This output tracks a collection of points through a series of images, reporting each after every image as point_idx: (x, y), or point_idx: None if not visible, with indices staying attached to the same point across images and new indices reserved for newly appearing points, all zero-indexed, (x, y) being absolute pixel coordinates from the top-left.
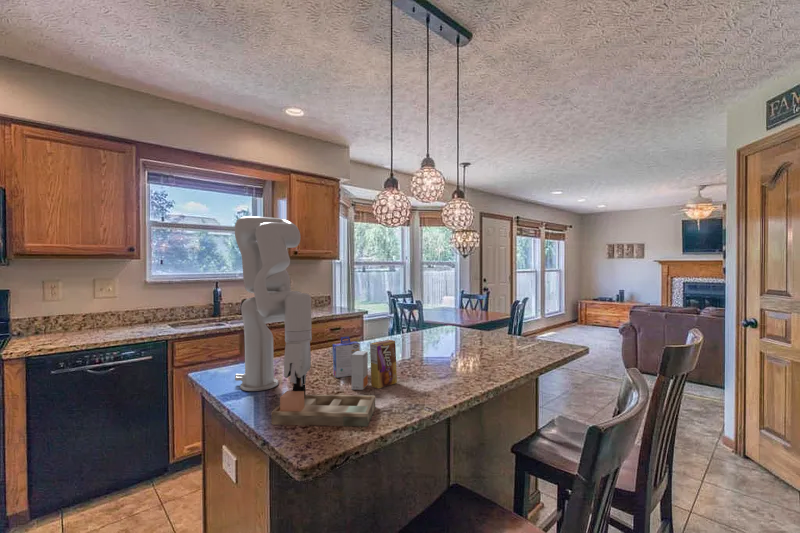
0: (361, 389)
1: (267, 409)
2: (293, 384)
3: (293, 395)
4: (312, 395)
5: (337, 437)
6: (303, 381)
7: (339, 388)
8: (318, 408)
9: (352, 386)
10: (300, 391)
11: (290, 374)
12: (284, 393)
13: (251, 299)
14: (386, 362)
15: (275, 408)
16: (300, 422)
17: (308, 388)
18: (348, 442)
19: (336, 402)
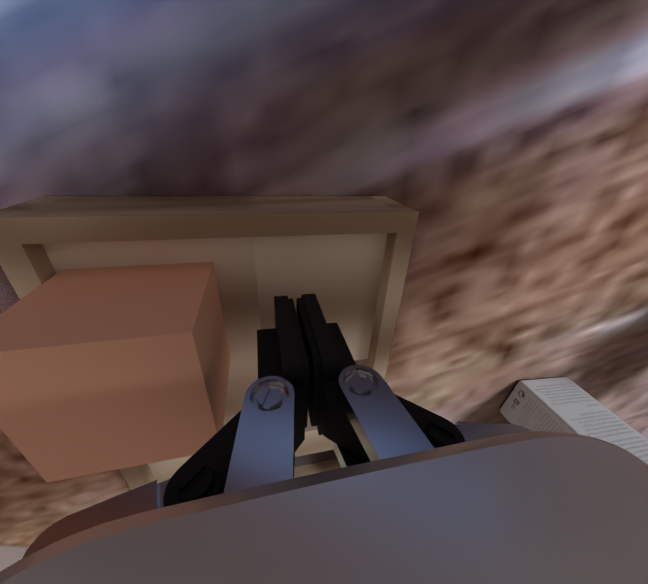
0: (502, 408)
1: (318, 31)
2: (217, 433)
3: (77, 436)
4: (378, 352)
5: (59, 495)
6: (337, 452)
7: (551, 337)
8: (224, 419)
9: (526, 392)
10: (206, 434)
11: (342, 468)
12: (96, 345)
13: None
14: None
15: (81, 217)
16: None
17: (623, 201)
18: (38, 526)
19: (310, 445)
